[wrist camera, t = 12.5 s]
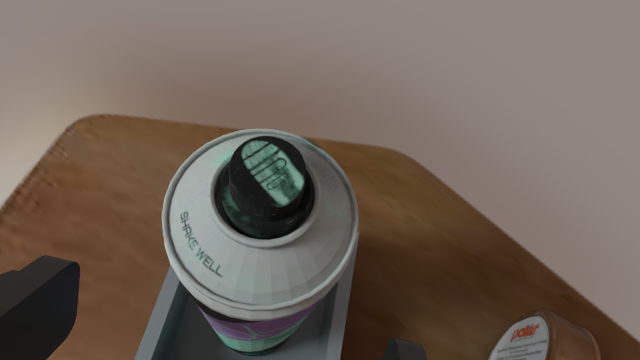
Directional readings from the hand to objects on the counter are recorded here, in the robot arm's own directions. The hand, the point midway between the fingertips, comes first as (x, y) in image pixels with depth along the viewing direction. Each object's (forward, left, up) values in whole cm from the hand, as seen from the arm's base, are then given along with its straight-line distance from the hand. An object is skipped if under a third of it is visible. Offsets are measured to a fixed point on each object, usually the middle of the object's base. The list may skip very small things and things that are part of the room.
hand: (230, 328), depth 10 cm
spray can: (0, -3, -17) cm, 17 cm away
